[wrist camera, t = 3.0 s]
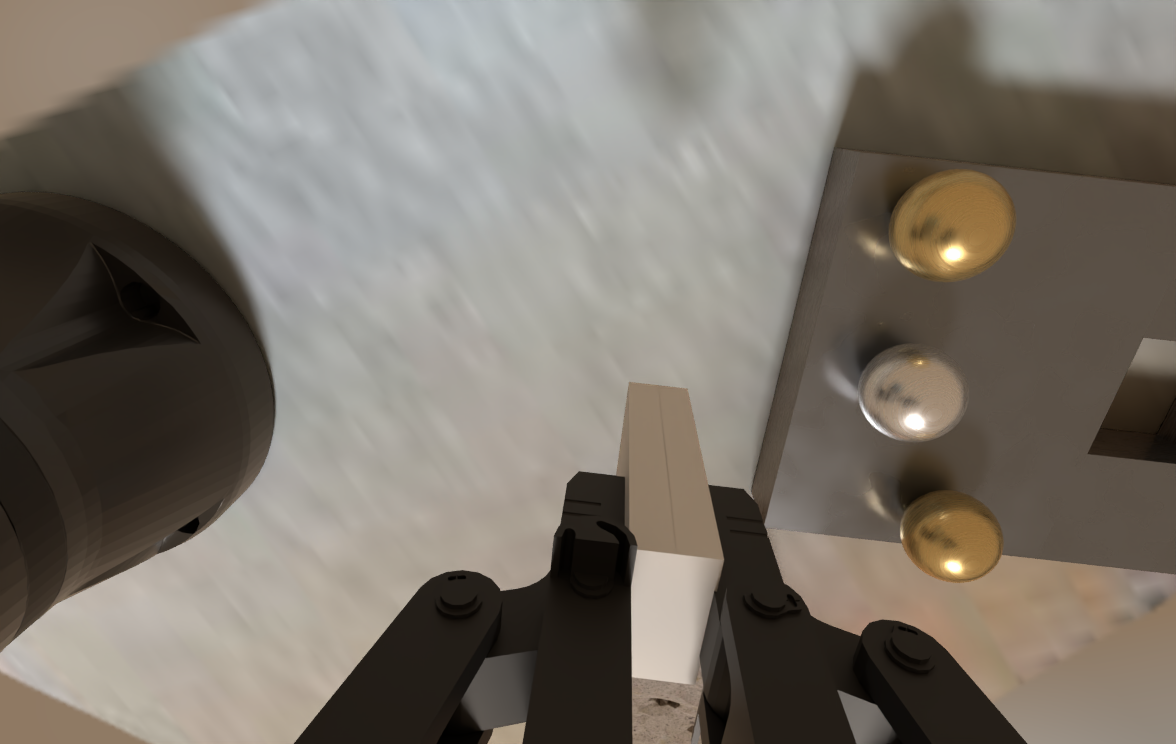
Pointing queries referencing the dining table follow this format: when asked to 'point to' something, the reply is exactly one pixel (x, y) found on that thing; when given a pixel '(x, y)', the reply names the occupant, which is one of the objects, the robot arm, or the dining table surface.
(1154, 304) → the plate
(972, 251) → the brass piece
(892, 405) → the steel ball
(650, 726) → the stone
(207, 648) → the dining table surface
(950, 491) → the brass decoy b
